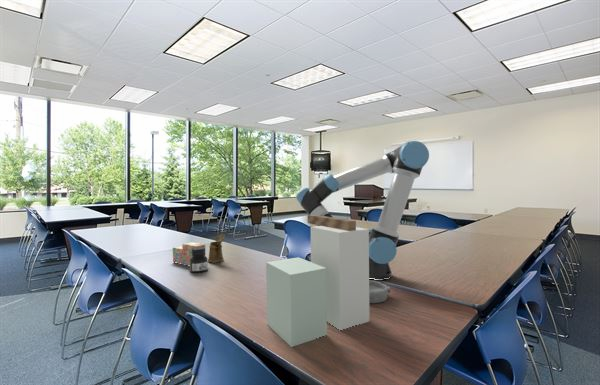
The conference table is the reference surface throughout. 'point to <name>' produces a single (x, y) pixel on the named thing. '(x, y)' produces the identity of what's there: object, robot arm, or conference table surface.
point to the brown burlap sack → (216, 249)
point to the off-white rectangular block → (343, 273)
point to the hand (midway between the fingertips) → (354, 257)
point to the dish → (378, 292)
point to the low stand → (296, 300)
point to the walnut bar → (332, 222)
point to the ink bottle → (198, 260)
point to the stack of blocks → (185, 252)
